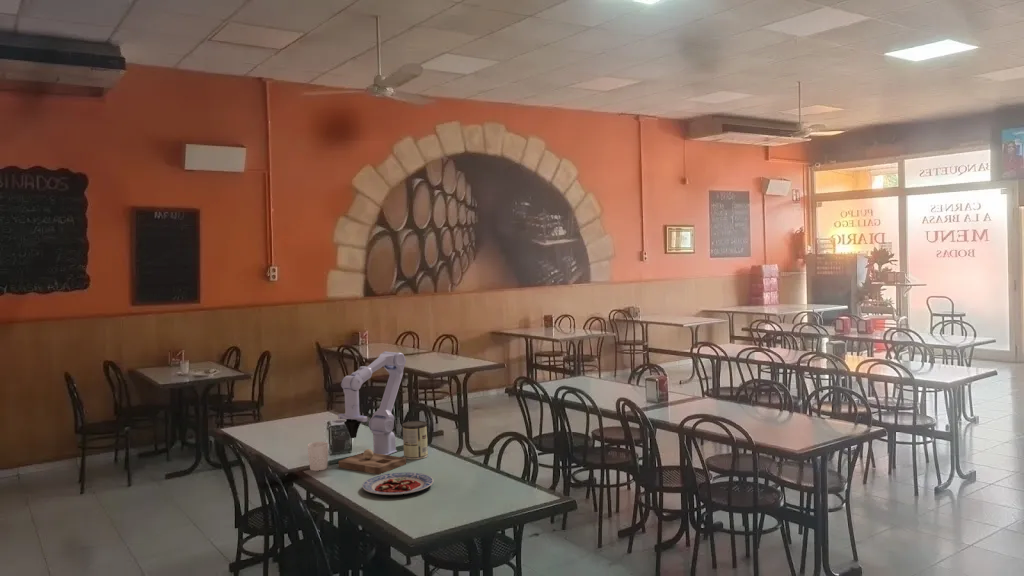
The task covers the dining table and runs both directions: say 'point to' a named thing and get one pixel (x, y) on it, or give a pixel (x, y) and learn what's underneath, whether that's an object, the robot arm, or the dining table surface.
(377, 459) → the board
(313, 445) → the white cup
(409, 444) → the coffee can
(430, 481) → the ceramic plate
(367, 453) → the ball
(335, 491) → the dining table surface
